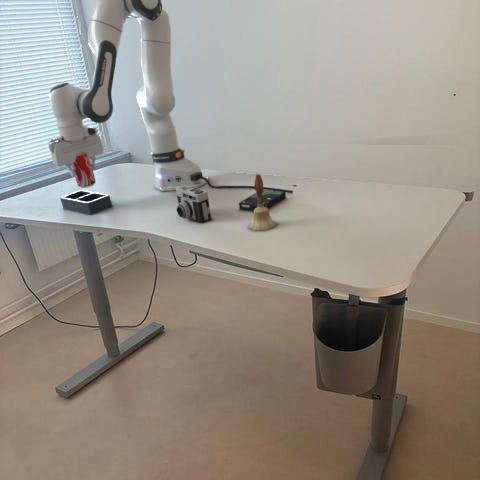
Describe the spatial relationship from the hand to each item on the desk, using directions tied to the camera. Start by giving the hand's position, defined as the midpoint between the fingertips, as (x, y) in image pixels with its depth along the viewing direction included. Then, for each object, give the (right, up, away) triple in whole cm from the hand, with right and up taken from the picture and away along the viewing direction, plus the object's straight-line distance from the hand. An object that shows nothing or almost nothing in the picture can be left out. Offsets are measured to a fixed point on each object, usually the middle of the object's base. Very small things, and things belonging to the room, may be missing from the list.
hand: (83, 172), depth 185 cm
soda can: (+1, -5, +3) cm, 5 cm away
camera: (+42, -21, -17) cm, 50 cm away
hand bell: (+66, -26, -31) cm, 77 cm away
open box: (-2, -11, +10) cm, 15 cm away
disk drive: (+67, -15, -13) cm, 70 cm away
